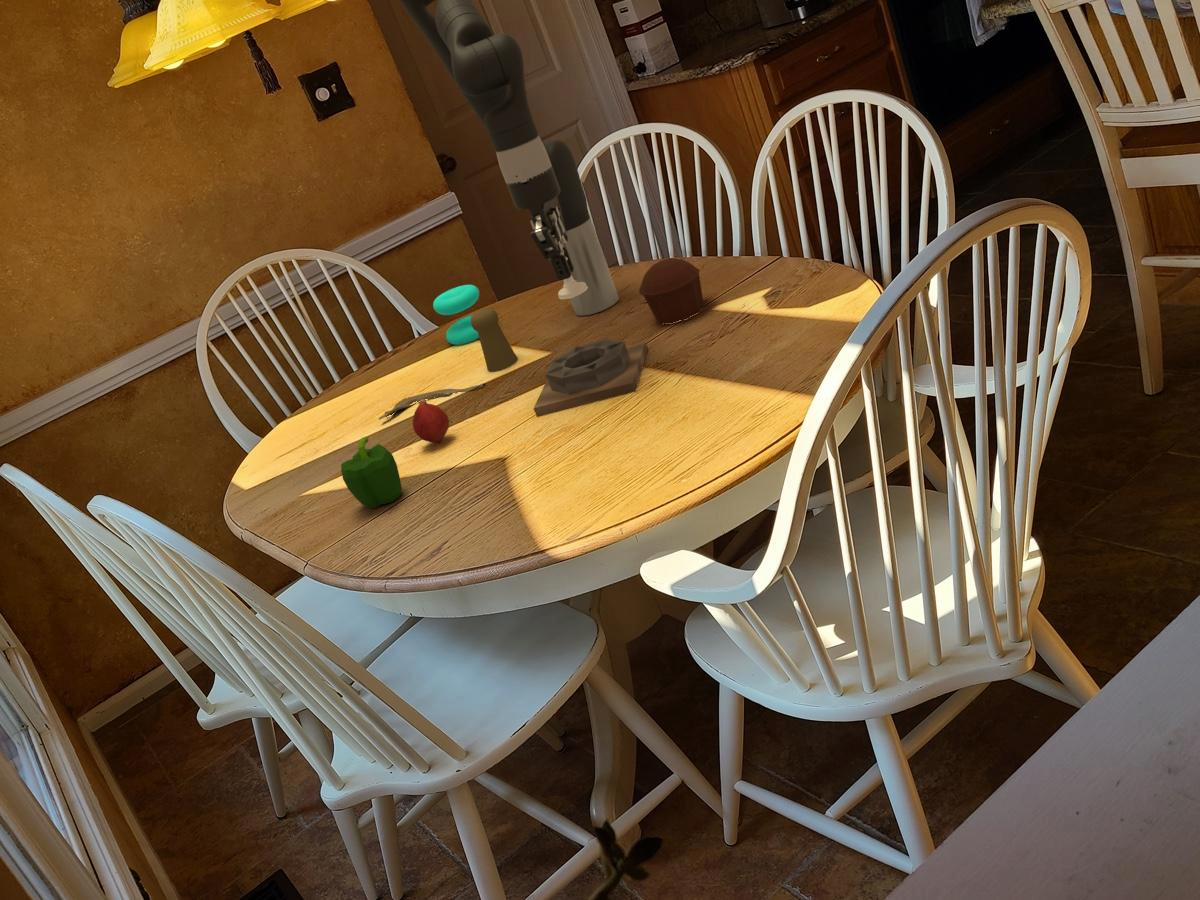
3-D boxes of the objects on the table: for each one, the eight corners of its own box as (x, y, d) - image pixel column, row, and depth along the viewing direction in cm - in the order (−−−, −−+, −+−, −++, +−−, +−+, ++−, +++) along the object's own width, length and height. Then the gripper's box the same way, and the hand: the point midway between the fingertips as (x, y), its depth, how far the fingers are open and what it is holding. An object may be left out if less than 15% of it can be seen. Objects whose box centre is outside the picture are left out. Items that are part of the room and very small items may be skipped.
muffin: (653, 311, 207) (636, 261, 203) (710, 294, 204) (694, 244, 200) (648, 334, 196) (630, 282, 192) (708, 317, 194) (691, 264, 190)
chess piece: (554, 301, 177) (532, 243, 173) (565, 289, 181) (543, 232, 177) (581, 295, 175) (559, 237, 171) (591, 283, 179) (570, 225, 175)
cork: (519, 353, 211) (498, 301, 207) (515, 366, 206) (493, 312, 202) (490, 362, 213) (469, 310, 208) (485, 375, 207) (462, 321, 203)
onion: (429, 454, 181) (410, 412, 178) (418, 446, 186) (399, 404, 183) (460, 438, 183) (441, 395, 180) (449, 430, 188) (430, 389, 185)
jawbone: (387, 412, 211) (383, 402, 210) (488, 376, 210) (484, 366, 209) (382, 427, 202) (377, 416, 202) (487, 389, 202) (483, 379, 201)
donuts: (485, 282, 228) (448, 303, 223) (502, 326, 232) (466, 348, 227) (458, 282, 235) (422, 303, 230) (476, 325, 239) (440, 346, 234)
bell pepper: (387, 514, 165) (359, 457, 161) (349, 514, 170) (321, 459, 166) (421, 484, 171) (395, 428, 167) (384, 485, 176) (357, 430, 172)
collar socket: (556, 373, 195) (547, 350, 193) (647, 349, 190) (639, 325, 188) (536, 416, 180) (526, 392, 178) (635, 391, 175) (626, 365, 173)
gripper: (514, 168, 177) (552, 268, 184) (496, 191, 165) (537, 297, 172) (557, 153, 175) (594, 255, 182) (542, 176, 163) (582, 283, 170)
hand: (566, 275), depth 177 cm, fingers closed on chess piece
